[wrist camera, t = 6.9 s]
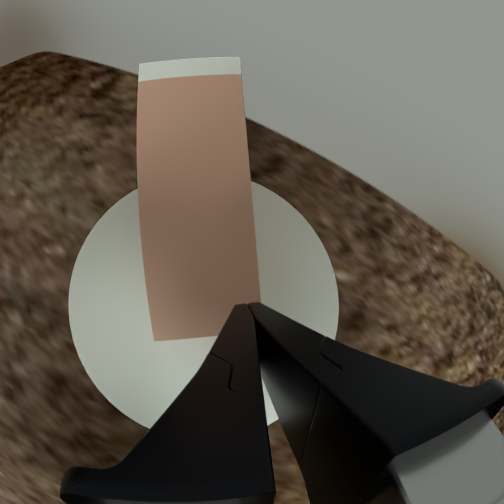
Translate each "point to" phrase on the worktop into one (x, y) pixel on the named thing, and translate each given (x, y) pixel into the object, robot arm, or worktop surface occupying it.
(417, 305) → the worktop surface
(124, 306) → the cream mat
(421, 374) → the robot arm
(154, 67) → the pink white tall block
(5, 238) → the worktop surface
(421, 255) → the worktop surface
